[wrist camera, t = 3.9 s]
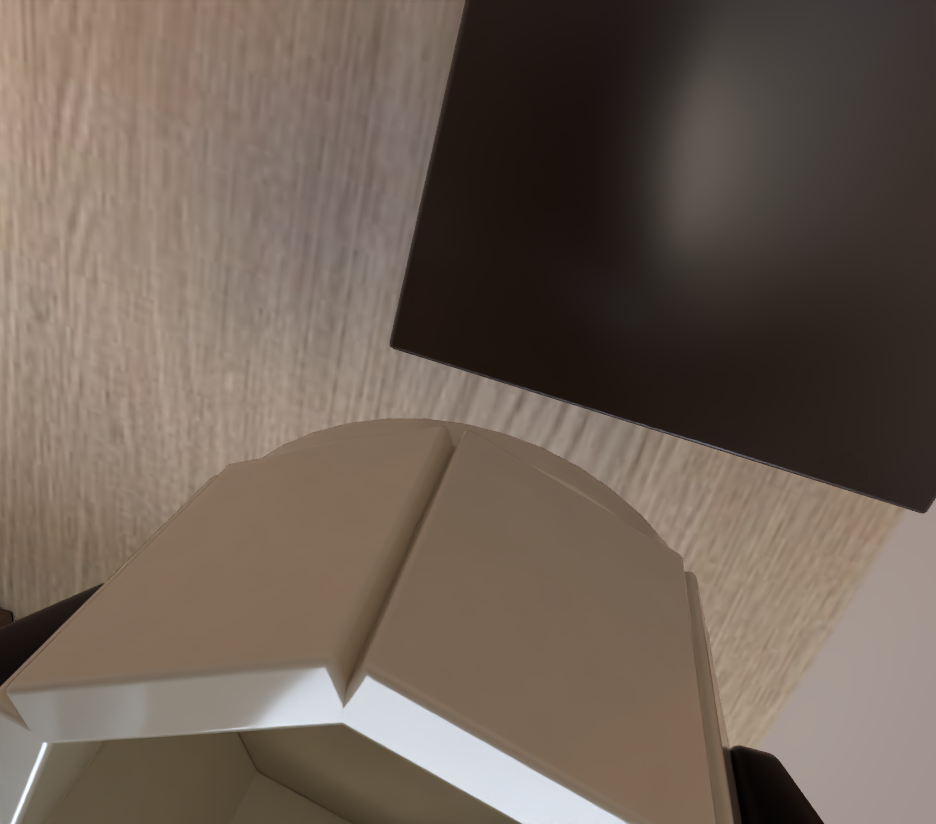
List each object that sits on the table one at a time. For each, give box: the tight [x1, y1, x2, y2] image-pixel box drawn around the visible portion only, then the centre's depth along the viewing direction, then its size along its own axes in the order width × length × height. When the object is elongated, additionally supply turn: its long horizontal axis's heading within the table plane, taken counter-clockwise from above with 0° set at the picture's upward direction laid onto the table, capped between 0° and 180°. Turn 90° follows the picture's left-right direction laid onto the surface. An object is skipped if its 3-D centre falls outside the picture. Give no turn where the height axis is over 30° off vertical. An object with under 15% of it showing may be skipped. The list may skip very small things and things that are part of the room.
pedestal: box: [390, 0, 936, 513], centre depth 12 cm, size 7×7×10 cm
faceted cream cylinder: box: [0, 419, 742, 824], centre depth 7 cm, size 6×6×4 cm
